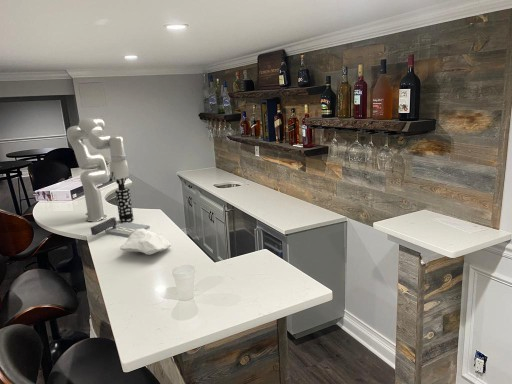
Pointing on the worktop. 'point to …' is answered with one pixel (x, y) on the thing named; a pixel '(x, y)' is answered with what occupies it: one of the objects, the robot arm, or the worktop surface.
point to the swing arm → (103, 226)
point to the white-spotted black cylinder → (124, 205)
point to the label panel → (126, 229)
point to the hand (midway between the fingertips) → (121, 190)
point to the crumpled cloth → (145, 242)
